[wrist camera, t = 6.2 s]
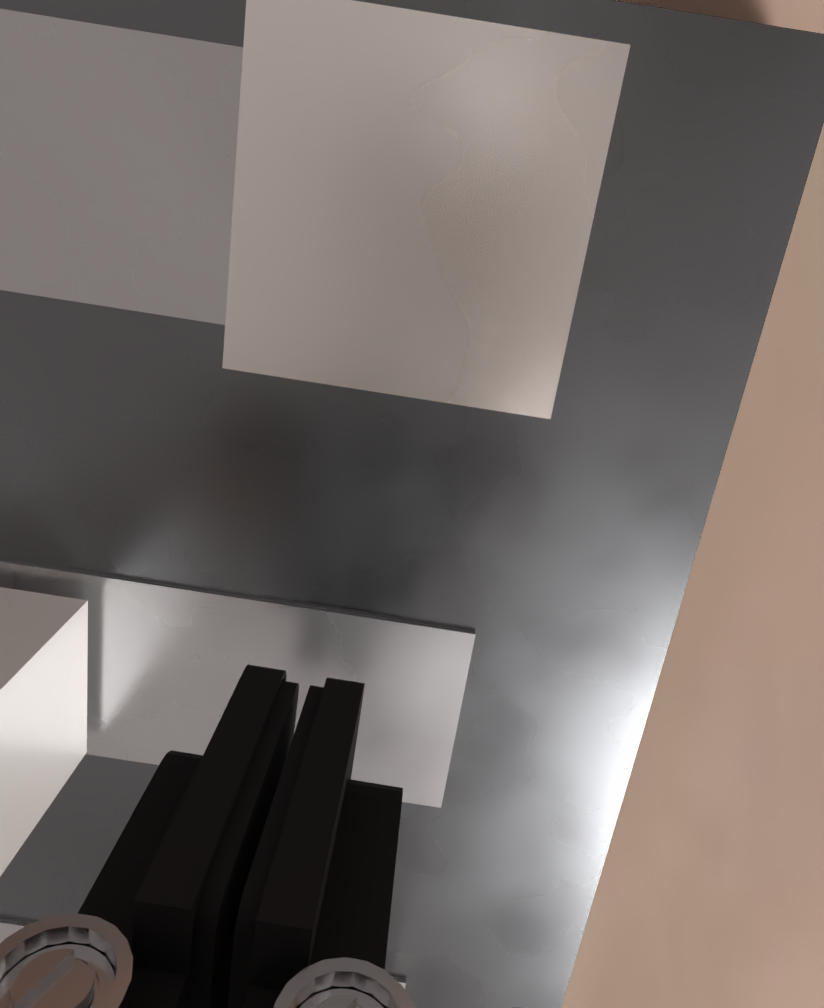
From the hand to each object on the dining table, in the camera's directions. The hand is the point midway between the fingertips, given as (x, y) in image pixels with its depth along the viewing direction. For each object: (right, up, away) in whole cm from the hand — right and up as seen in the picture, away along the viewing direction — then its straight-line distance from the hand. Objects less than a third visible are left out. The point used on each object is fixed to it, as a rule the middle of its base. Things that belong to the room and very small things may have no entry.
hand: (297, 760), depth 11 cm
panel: (-2, +1, +4) cm, 5 cm away
